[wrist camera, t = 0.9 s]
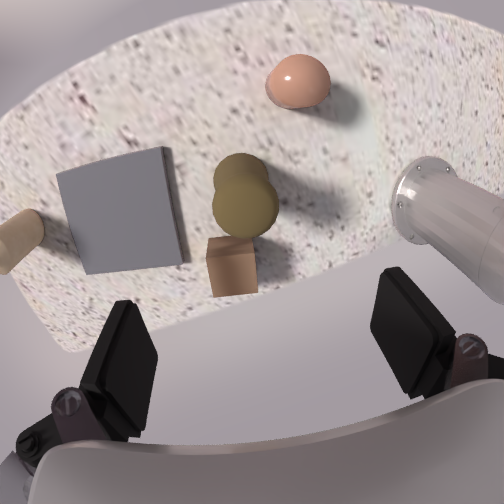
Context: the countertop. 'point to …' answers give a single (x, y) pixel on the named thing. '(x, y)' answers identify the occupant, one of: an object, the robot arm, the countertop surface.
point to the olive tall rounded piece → (244, 197)
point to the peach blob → (298, 82)
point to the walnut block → (231, 266)
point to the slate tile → (122, 213)
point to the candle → (19, 238)
